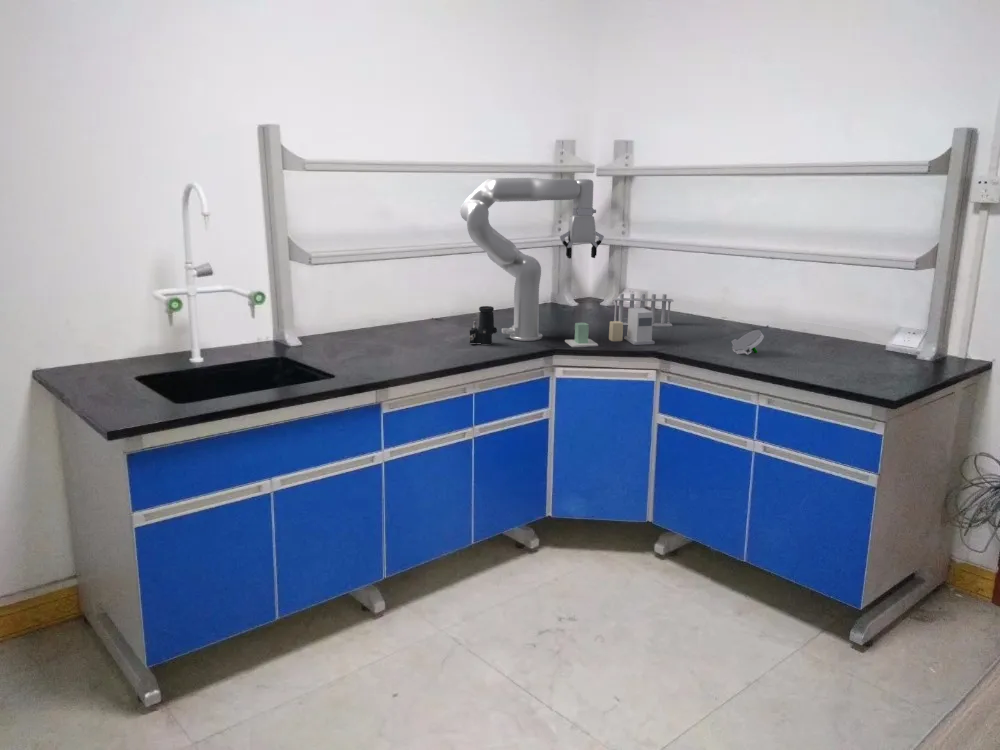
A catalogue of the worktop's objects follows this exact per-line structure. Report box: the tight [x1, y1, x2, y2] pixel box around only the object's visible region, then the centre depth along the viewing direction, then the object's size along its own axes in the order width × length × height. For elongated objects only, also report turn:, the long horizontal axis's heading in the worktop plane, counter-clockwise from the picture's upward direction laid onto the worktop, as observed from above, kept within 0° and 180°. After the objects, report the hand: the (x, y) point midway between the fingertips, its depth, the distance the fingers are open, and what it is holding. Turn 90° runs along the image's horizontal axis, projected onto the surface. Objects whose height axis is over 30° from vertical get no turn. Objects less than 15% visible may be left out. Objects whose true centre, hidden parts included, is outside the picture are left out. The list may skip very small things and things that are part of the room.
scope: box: [468, 305, 498, 345], centre depth 288 cm, size 8×14×10 cm
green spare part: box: [574, 322, 590, 343], centre depth 289 cm, size 4×4×7 cm
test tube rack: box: [612, 293, 674, 327], centre depth 325 cm, size 25×4×13 cm, turn 85°
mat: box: [564, 338, 599, 348], centre depth 290 cm, size 10×10×1 cm
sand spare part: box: [608, 320, 624, 342], centre depth 296 cm, size 4×4×7 cm
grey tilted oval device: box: [730, 329, 764, 356], centre depth 276 cm, size 15×8×11 cm
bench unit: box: [623, 307, 656, 346], centre depth 293 cm, size 8×11×12 cm
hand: (581, 257), depth 298 cm, fingers open, 9 cm apart
